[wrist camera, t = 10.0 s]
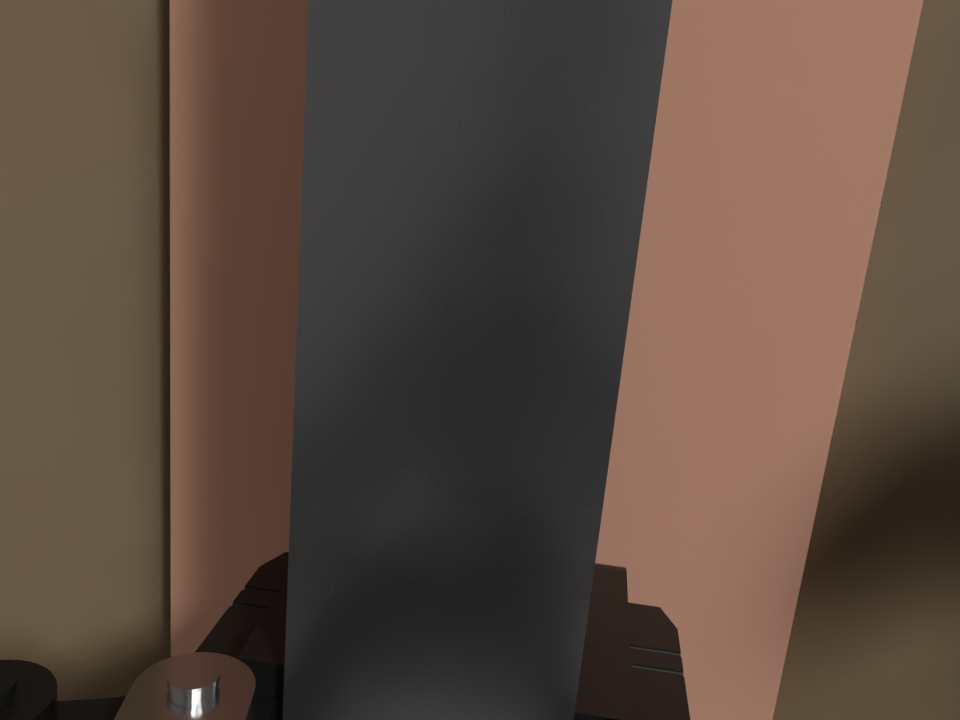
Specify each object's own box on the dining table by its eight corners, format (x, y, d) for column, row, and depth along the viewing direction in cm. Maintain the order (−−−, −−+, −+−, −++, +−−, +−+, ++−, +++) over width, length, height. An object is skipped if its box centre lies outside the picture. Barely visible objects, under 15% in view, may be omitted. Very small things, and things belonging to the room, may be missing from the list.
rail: (318, 1231, 16) (255, 1476, 13) (413, -401, 9) (330, -625, 7) (488, 1270, 16) (462, 1530, 13) (710, -391, 9) (758, -620, 6)
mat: (188, 1098, 20) (171, 1138, 19) (196, -489, 12) (169, -531, 11) (659, 1197, 19) (662, 1244, 18) (999, -464, 11) (1029, -506, 10)
